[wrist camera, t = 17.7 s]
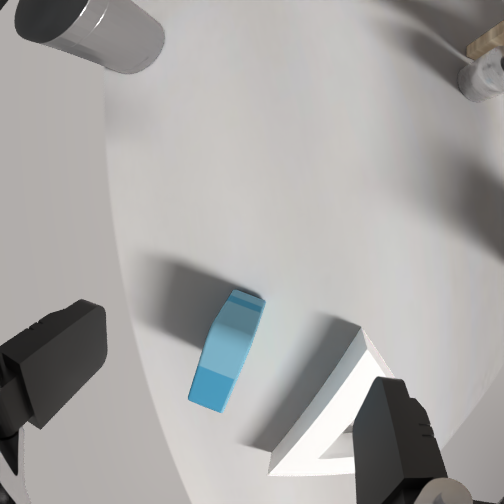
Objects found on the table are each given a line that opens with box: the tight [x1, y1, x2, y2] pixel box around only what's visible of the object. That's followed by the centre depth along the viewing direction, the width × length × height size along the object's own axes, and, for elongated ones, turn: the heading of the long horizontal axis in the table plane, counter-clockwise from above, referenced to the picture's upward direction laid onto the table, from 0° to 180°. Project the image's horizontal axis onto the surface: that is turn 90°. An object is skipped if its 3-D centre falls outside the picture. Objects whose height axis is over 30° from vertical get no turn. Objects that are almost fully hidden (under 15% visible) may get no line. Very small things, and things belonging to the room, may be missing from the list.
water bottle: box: [457, 46, 504, 102], centre depth 25 cm, size 5×5×12 cm
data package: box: [188, 289, 266, 413], centre depth 39 cm, size 12×4×12 cm, turn 161°
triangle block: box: [267, 327, 395, 476], centre depth 42 cm, size 30×26×6 cm
